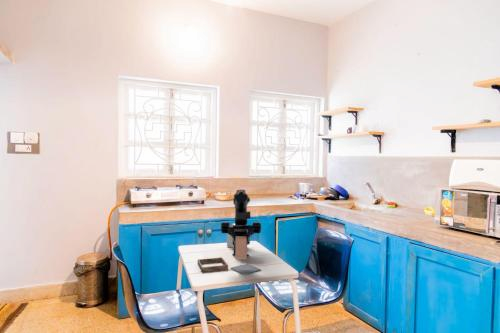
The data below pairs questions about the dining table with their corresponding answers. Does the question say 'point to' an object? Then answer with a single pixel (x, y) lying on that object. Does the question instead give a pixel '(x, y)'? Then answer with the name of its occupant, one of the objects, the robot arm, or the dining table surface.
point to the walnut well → (212, 268)
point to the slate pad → (245, 269)
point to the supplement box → (230, 240)
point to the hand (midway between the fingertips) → (241, 243)
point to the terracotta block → (241, 247)
